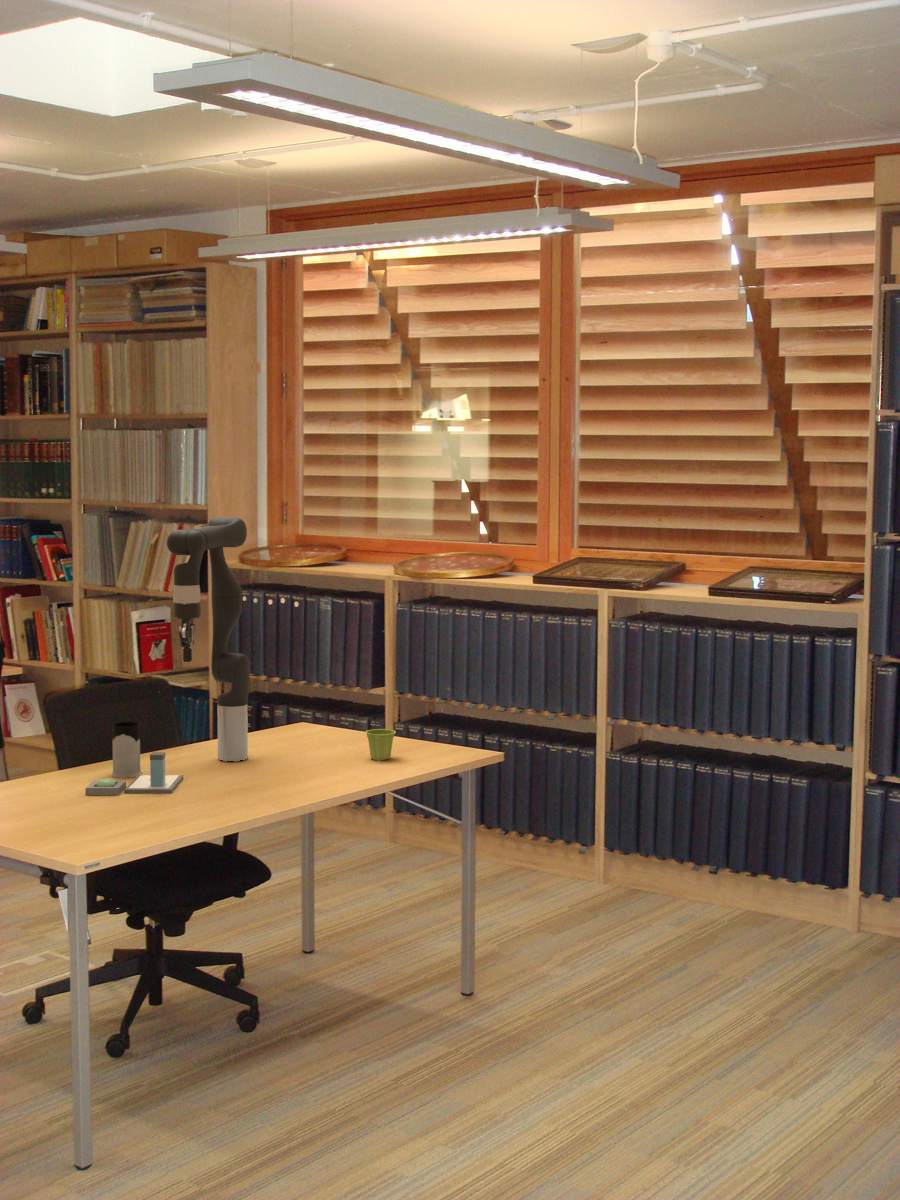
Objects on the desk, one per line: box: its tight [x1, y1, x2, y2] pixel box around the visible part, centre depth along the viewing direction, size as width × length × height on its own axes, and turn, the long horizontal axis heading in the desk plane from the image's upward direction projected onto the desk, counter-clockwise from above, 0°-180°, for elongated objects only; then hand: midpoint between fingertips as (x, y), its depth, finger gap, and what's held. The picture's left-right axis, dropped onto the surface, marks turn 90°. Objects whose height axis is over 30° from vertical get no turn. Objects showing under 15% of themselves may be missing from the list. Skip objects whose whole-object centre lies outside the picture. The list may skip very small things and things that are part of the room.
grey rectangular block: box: [149, 751, 166, 787], centre depth 358 cm, size 4×4×9 cm
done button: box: [95, 778, 116, 787], centre depth 356 cm, size 5×5×2 cm
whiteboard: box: [123, 774, 184, 794], centre depth 364 cm, size 18×13×1 cm
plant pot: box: [365, 728, 396, 761], centre depth 402 cm, size 9×9×9 cm
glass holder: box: [111, 721, 143, 779], centre depth 380 cm, size 9×14×15 cm, turn 1°
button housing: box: [84, 780, 127, 796], centre depth 356 cm, size 9×9×2 cm
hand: (187, 661), depth 365 cm, fingers closed
